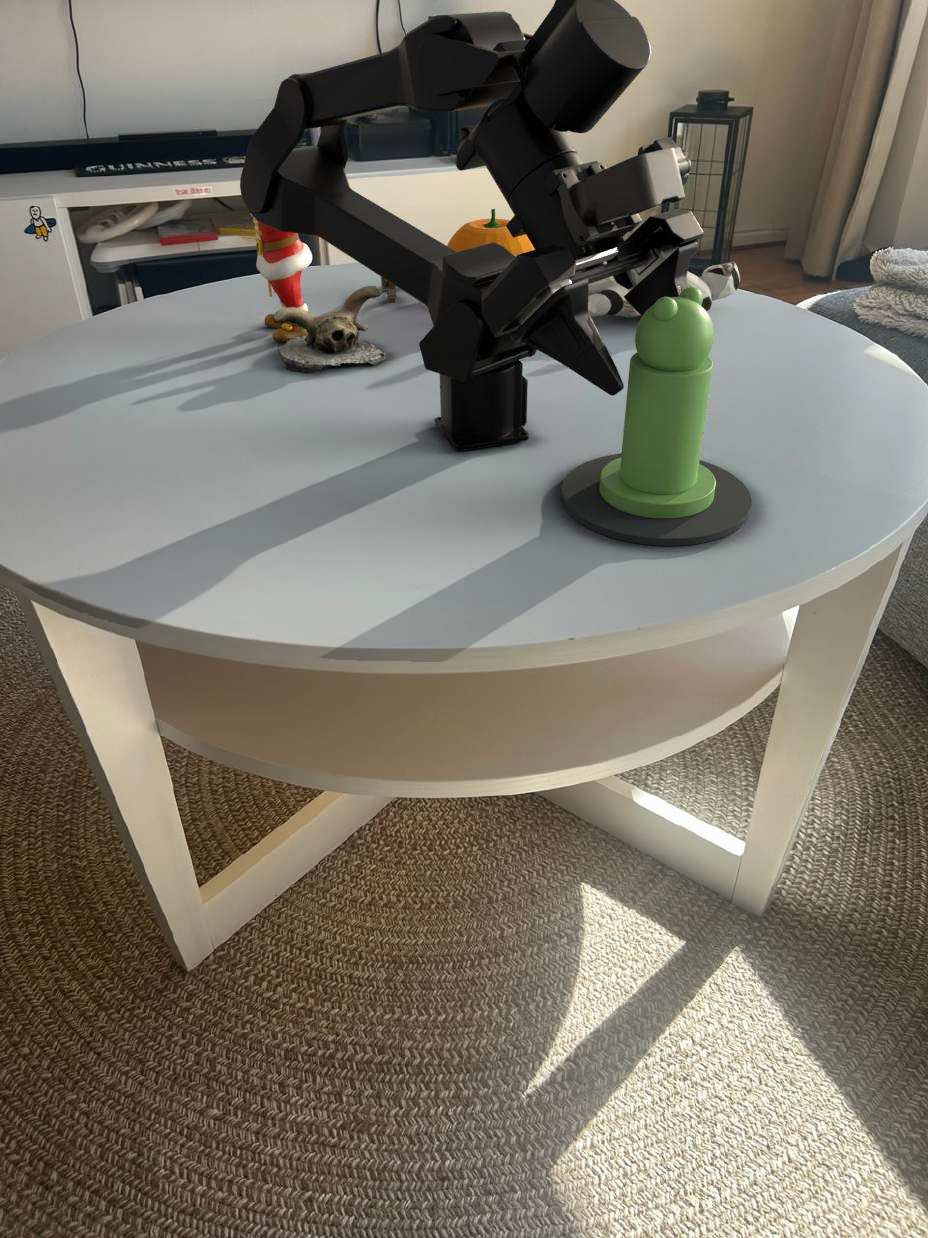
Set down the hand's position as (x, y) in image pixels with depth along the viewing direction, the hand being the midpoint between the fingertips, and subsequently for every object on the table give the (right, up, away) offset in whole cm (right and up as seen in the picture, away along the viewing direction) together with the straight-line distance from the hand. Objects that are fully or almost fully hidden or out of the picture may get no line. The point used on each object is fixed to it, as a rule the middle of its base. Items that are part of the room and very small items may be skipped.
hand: (657, 373), depth 65 cm
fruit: (-10, +22, +48) cm, 54 cm away
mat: (+1, -8, +5) cm, 9 cm away
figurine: (+4, +17, +40) cm, 44 cm away
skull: (-28, +10, +32) cm, 43 cm away
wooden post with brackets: (-22, +22, +49) cm, 58 cm away
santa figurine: (-32, +14, +38) cm, 52 cm away
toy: (+1, -8, +4) cm, 9 cm away
